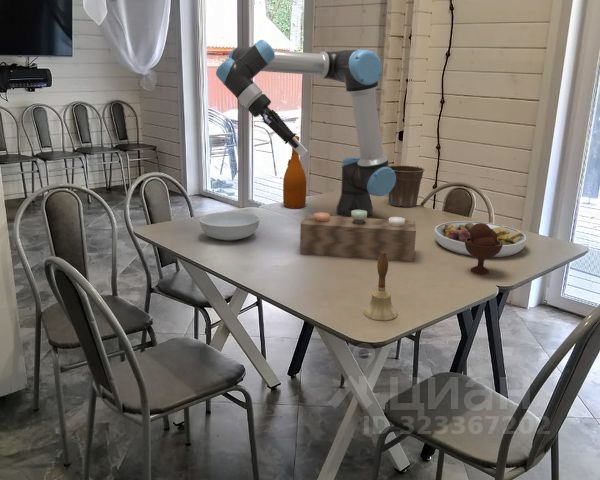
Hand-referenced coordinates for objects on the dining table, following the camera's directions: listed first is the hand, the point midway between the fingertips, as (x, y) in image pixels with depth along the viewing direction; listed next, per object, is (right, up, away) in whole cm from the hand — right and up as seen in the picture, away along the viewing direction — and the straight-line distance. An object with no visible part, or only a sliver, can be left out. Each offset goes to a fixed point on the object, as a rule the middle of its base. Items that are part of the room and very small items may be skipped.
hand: (304, 154), depth 188 cm
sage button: (+17, -25, -4) cm, 31 cm away
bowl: (+60, -31, +8) cm, 68 cm away
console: (+17, -32, -1) cm, 37 cm away
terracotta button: (+6, -26, -1) cm, 26 cm away
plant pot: (+44, -13, +64) cm, 78 cm away
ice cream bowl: (+52, -38, -17) cm, 67 cm away
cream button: (+29, -27, -5) cm, 40 cm away
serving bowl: (-26, -27, +12) cm, 40 cm away
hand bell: (+18, -47, -47) cm, 69 cm away
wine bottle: (-4, -14, +57) cm, 59 cm away
